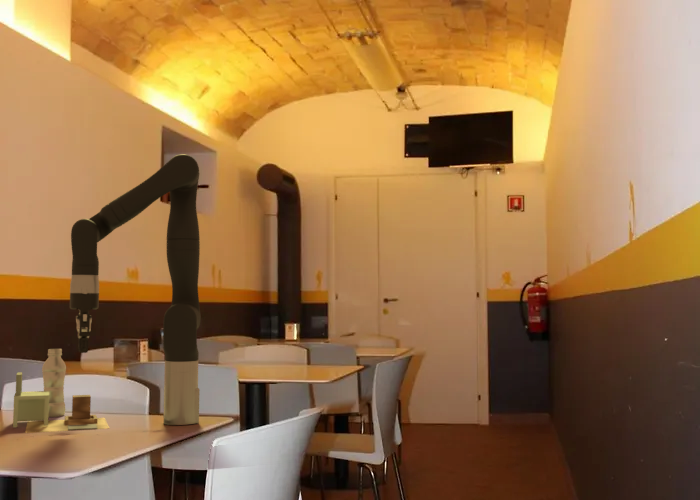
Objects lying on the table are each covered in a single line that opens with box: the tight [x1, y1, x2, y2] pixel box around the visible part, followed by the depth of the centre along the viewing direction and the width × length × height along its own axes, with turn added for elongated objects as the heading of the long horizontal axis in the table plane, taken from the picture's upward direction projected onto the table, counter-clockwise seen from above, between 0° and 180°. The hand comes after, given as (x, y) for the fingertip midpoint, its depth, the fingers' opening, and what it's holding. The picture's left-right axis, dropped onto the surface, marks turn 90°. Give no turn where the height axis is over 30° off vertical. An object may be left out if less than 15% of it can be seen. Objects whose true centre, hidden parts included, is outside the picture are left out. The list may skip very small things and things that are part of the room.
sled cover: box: [12, 371, 49, 428], centre depth 200 cm, size 8×11×13 cm
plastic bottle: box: [41, 348, 67, 418], centre depth 217 cm, size 6×7×20 cm
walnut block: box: [71, 394, 92, 420], centre depth 204 cm, size 4×4×7 cm
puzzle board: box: [25, 414, 110, 438], centre depth 199 cm, size 20×20×2 cm
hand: (82, 351), depth 206 cm, fingers open, 7 cm apart
